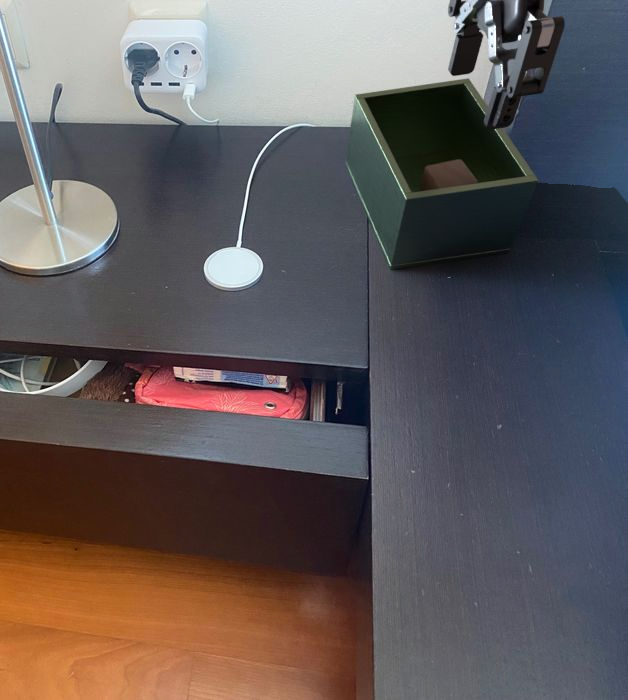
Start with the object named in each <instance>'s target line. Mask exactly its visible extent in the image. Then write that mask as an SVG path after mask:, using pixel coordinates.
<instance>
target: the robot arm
mask: <svg viewBox="0 0 628 700" xmlns="http://www.w3.org/2000/svg"><path fill="white" fill-rule="evenodd" d="M544 9H545V0H449V3H448V5H447V14H448V16H449V17H450V18H453V17H454V18H455V19H454V22H453V32H454V34H456V35H455V38H454V42H453V45H452V50H451V55H450V60H449V63H448V68H447V70H448V72H449V74H450V75H451V76H452V77H457V76H464V75H470V74H472V73H473V72H474V71H475V68H476V65H477V61H478V57H479V54H480V50H481V46H482V43H483V40H484V39H483V38H484V34H483V33H485V36H486V38H487V42H488V43H487V47H488V48H487V49H488V60H489V62H490V63H492V64H493V65H494V79H495V81H494V84H495V86H494V87H493V89H492V93H491V96H490V99H489V102H488V105H487V106H488V109H487V112H486V115H485V119H484V124H485V126H486V127H487V129H489V130H492V129H499V128H503V129H504V128H505V129H506V128H508V127H510V126H511V125H512V124H513V122H514V121H515V118H516V115H517V112H518V108H519V106H520V104H521V100H522V97H524V96H525V97H526V96H534V95H540V94H543V93H544V90H545V88H546V87H547V86H546V85H547V82H548V79H549V77H550V73H551V70H552V68H553V64H554V61H555V57H556V54H557V51H558V48H559V45H560V42H561V39H562V36H563V32H564V29H565V26H566V25H565V24H566V21H565V18H564V16H562V15H559V16H553V17H549V16H548V15H547V14H546V13H544ZM515 42H518V46H517V48H510V49H506V48H505V47H504V46H503V44H508V43H509V44H511V43H515ZM513 60H514V61H513ZM509 61H513V63H512V68H511V71H510V75H509ZM534 69H535V71H534V73H533V70H534Z"/></svg>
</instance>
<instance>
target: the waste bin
mask: <svg viewBox="0 0 628 700" xmlns="http://www.w3.org/2000/svg"><path fill="white" fill-rule="evenodd" d="M488 106H489V105H488V104H487V103H486V101H485V100H484V98H483V97H482V96H481V93H479V91H478V90H477V88H476V87H475V86H474V83H473V82H472V80H471V79H470V78H461V79H454V80H448V81H447V80H446V81H440V82H433V83H426V84H420V85H419V84H418V85H413V86H405V87H399V88H392V89H387V90H386V89H385V90H378V91H377V90H376V91H371V92H365V93H357V94H354V99H353V106H352V113H351V119H350V127H349V135H348V142H347V150H346V158H345V164H344V166H345V168H346V170H347V173H348V175H349V178H350V180H351V183H352V185H353V187H354V189H355V192H356V195H357V196H358V199H359V201H360V203H361V205H362V208H363V210H364V212H365V214H366V217H367V219H368V222H369V224H370V226H371V229H372V231H373V233H374V236H375V238H376V240H377V243H378V245H379V248H380V250H381V252H382V254H383V257H384V259H385V261H386V264H387V266H388V268H389V270H390V271H392V270H398V269H405V268H412V267H419V266H428V265H433V264H439V263H448V262H454V261H461V260H468V259H476V258H482V257H489V256H495V255H502V254H509V253H510V251H511V248H512V246H513V243H514V241H515V239H516V237H517V233H518V231H519V228H520V226H521V224H522V221H523V218H524V216H525V215H526V212H527V209H528V207H529V204H530V201H531V199H532V196H533V194H534V191H535V189H536V187H537V184H538V182H539V179H538V177H537V176H536V175H535V173H534V172H533V170H532V169H531V167H530V166H529V164H528V163H527V162H526V160H525V158H524V157H523V156H522V154H521V153H520V151H519V149H518V148H517V147H516V145H515V144H514V143H513V141H512V140H511V138H510V137H509V135H508V133H507V132H506V131H505V129H504V128H499V129H492V130H489V129H487V127H486V126H485V124H484V119H485V115H486V112H487V109H488ZM458 159H459V160H462V161H463V162H464V164H465V165H466V166H467V168H468V169H469V170H470V172H471V173H472V174H473V176H474V177H475V178H476V180H477V182H478V183H476V184H469V185H462V186H455V187H448V188H441V189H434V190H427V191H420V192H419V189H420V185H421V181H422V177H423V173H424V169H425V167H426V166H428V165H433V164H438V163H443V162H448V161H453V160H458Z"/></svg>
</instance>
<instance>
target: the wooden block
mask: <svg viewBox="0 0 628 700" xmlns="http://www.w3.org/2000/svg"><path fill="white" fill-rule="evenodd" d="M476 183H478V182H477V180H476V178H475V177H474V176H473V174H472V173H471V172H470V170H469V169H468V168H467V166H466V165H465V164H464V162H463V161H462V160H459V159H458V160H453V161H448V162H443V163H438V164H433V165H428V166H426V167H425V169H424V173H423V177H422V181H421V185H420V189H419V192H420V191H427V190H434V189H441V188H448V187H455V186H462V185H469V184H476Z"/></svg>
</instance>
